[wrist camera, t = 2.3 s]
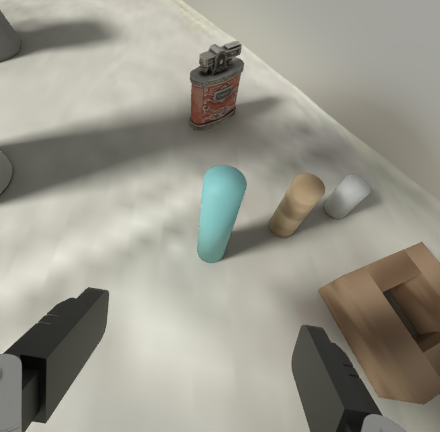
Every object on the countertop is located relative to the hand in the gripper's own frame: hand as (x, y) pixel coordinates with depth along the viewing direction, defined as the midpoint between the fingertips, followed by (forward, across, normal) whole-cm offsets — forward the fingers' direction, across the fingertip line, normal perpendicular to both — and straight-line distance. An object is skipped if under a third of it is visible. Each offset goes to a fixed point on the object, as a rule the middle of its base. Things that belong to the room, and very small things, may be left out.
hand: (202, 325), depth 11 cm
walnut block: (+14, -19, +6) cm, 24 cm away
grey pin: (+23, -15, -2) cm, 27 cm away
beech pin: (+20, -8, 0) cm, 22 cm away
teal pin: (+17, 0, +4) cm, 17 cm away
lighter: (+32, +3, -11) cm, 34 cm away
